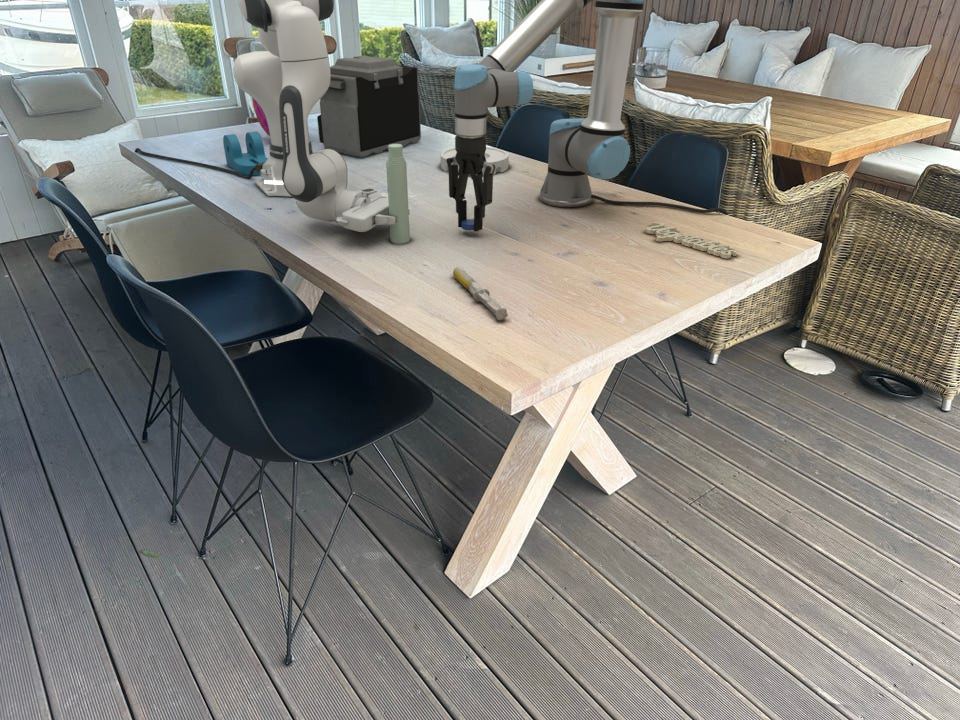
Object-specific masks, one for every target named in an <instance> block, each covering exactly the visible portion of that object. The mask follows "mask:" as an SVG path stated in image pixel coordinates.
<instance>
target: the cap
mask: <svg viewBox="0 0 960 720" xmlns="http://www.w3.org/2000/svg"><path fill="white" fill-rule="evenodd" d="M460 229H461V230H463V231H466V232H467V231H468V232H469V231H470V232H472V231H473V232H474V218H467V219H466V220H463V221H462V223H461V228H460Z"/></svg>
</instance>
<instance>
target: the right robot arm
mask: <svg viewBox="0 0 960 720" xmlns="http://www.w3.org/2000/svg"><path fill="white" fill-rule="evenodd" d="M593 1H594V0H540V1H539V2H538V3H537V4H536V5H535V6H534V7H533V8H532V9H531V10H530V11H529V12H528V14H526V15H525V16H524V18H522V19H521V21H519V23H518V24H517V25H515V26H514V28H512V29H511V31H510V32H508V34H506V36H504V38H503V39H502V40H500V42H499V43H498V44H496V46H495V47H494V48H493V49H491V51H490V52H489V53H488V54H487V55H485V57H484V58H483V59H482V60H481V61H480V62H475V63H469V64H467V63H466V64H461V65H458V66H457V67H456V69H455V71H454V83H453V84H454V85H453V89H454V134H455V137H454V148H455V150H456V152H457V153H456V155H455V157H451V158H447V160H446V161H447V165H448V170H449V171H448V196H449V198H451V199H454V201H455V213H456V214H457V228H460V229H462V228H461V223H462V221H463V220H466V219H468V201H467V199H466V190H467V186H468V182H469V181H468V180H469V176H470V180H472V184H473V190H474V197H475V203H476V204H475V205H474V206H473V219H474V230H473V232H475V233H477V232H479V231H481V230H483V229H484V227H483V226H484V225H483V224H484V223H483V222H484V219H485V217H486V206H488V205H491V204H492V203H493V194H494V193H493V190H494V174H493V173H494V170H495V165H494V164H492V165H490V164H489V163H487V162H486V158H485V151H486V147H487V136H486V134H487V113H488V108H491V109H492V108H500V107H501V108H502V107H512V106H514V107H518V106H522V105H526V104H528V103H530V101H531V100H532V98H533V95H534V81H533V78H532V76H531V74H529V73H528V72H527V71H518V70H517V69H519V67H520V66H521V65H522V64H523V63H524V62H525V61H526V60H527V59H528V58H529V57H530V56H531V55H532V54H533V53H534V52H535V51H536V50H537V49H538V48H539V47H540V46H541V45H542V44H543V43H544V42H546V40H547V39H548V38H549V37H550V36H551V35H552V34H553V33H554V32H555V31H556V30H557V29H558V28H559V27H560V26H561V25H562V24H563V23H564V22H565V21H566V20H567V19H568V18H569V17H570V16H571V15H572V14H573V13H574V12H575V11H576V12H580V11H582V10H583V9H584V8H585V7H586V6H587V5H589V3H591V2H593ZM646 1H647V0H595V5H594V10H595V11H596V12H597V13H598V15H599V24H598V32H597V38H596V39H597V40H596V46H595V55H594V64H593V71H592V79H591V86H590V95H589V103H588V113H587V117H585V118H580V117H577V118H576V117H575V118H574V117H573V118H562V119H556V120H554V121H553V122H551V124H550V127H549V128H550V129H549V134H548V136H549V141H548V142H549V143H548V156H547V157H548V159H547V173H546V176H545V178H544V181H543V184H542V186H541V188H540V192H539V200H540V202H542V203H543V204H546V205H549V206H553V207H558V208H559V207H560V208H580V207H584V206H588V205H589V204H591V203H592V199H594V200H596V201H600V202H603V203H605V204H612V205H618V206H619V205H623V206H656V207H657V206H659V207H666V208H673V209H679V210H685V211H688V212H693V213H700V214H709V213H715V212H720V213H721V214H723V215H724V216H729V215H730V214H729V212H728V211H727V210H725V209H724V208H721V207H713V208H707V209H702V208H695V207H691V206H687V205H682V204H674V203H669V202H662V201H661V202H659V201H630V200H629V201H626V200H613V199H607V198H604V197H601V196H598V195H595V194H593V193H592V188H591V184H590V179H589V177H592V178H594V179H599V180H611V179H613V178H615V177H617V176H618V175H619V174H620V173H621V172H622V171H624V170H625V168H626V166H627V165H628V163H629V160H630V157H631V146H630V144H629V142H628V141H627V139H625V138H624V137H625V130H626V126H625V124H624V123H623V122H622V120H621V117H622V110H623V106H624V105H623V103H624V98H625V91H626V83H627V77H628V70H629V65H630V57H631V50H632V43H633V36H634V28H635V22H636V18H637V17H638V16H639V15H640V14H641V13H643V11H644V5H645V2H646ZM458 165H459V172H458ZM483 167H484V170H483V172H484V175H483V172H482V168H483ZM469 174H470V175H469ZM476 174H477V175H476Z"/></svg>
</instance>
